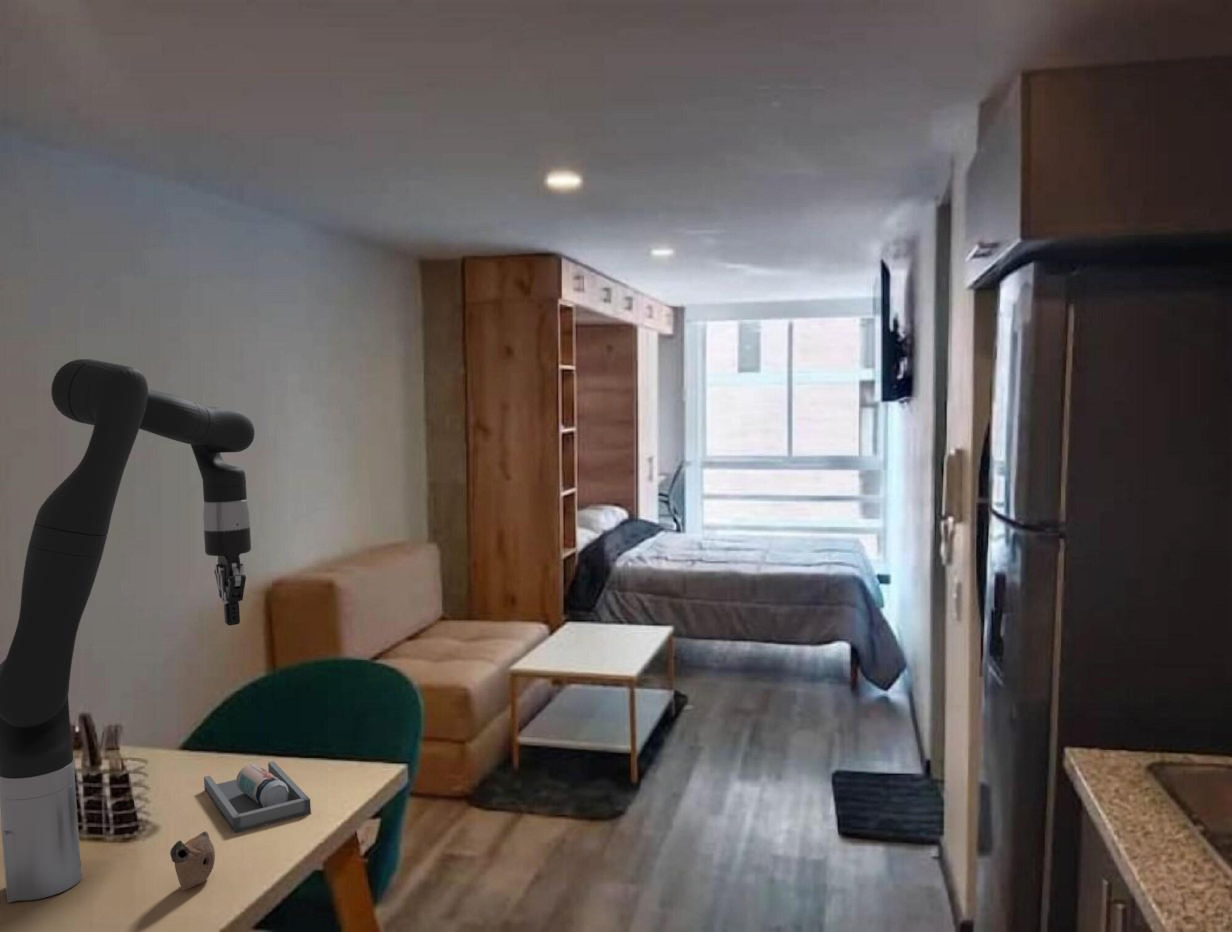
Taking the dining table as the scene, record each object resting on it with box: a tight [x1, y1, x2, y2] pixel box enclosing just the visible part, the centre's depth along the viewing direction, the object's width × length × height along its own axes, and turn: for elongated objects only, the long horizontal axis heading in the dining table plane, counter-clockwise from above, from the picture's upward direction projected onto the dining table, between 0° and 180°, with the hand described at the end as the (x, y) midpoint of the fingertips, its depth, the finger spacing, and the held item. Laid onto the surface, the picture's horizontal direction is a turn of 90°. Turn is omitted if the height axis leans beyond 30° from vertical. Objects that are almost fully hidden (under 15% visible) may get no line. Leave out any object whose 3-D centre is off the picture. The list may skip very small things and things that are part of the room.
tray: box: [203, 760, 312, 834], centre depth 167 cm, size 12×22×2 cm, turn 34°
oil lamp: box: [169, 831, 216, 891], centre depth 137 cm, size 9×4×8 cm, turn 173°
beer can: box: [235, 763, 289, 808], centre depth 166 cm, size 5×5×12 cm
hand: (232, 624), depth 173 cm, fingers closed
